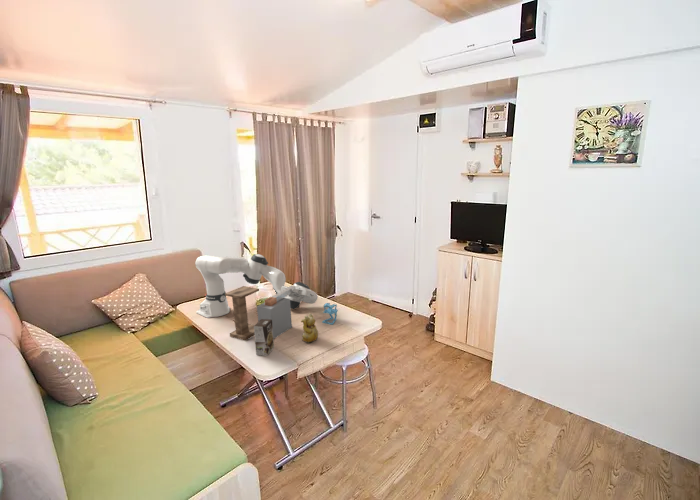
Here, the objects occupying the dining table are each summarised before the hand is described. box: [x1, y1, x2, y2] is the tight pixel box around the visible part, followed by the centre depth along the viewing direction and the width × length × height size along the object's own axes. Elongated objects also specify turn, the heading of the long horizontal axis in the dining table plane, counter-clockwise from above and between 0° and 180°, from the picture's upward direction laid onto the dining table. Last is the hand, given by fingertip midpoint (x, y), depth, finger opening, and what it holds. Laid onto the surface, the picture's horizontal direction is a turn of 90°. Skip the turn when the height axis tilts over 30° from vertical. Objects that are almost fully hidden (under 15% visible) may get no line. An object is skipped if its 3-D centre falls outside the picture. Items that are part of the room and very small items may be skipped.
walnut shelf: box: [225, 285, 260, 342], centre depth 202 cm, size 12×14×26 cm
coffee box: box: [253, 319, 275, 356], centre depth 183 cm, size 9×6×16 cm
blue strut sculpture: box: [321, 302, 339, 326], centre depth 217 cm, size 8×8×12 cm
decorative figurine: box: [300, 312, 319, 344], centre depth 193 cm, size 10×8×15 cm
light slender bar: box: [263, 285, 295, 306], centre depth 208 cm, size 4×24×3 cm, turn 152°
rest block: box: [256, 298, 293, 339], centre depth 205 cm, size 10×17×18 cm, turn 152°
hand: (289, 289), depth 214 cm, fingers closed on light slender bar, 3 cm apart
